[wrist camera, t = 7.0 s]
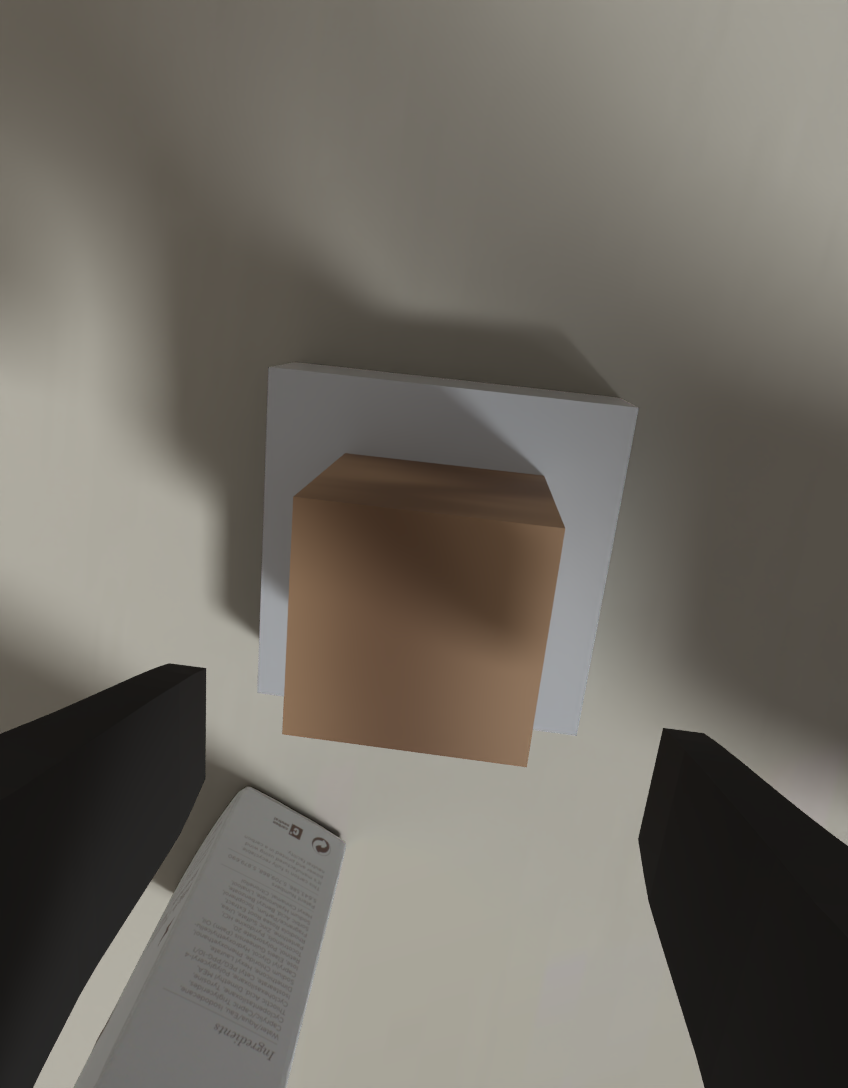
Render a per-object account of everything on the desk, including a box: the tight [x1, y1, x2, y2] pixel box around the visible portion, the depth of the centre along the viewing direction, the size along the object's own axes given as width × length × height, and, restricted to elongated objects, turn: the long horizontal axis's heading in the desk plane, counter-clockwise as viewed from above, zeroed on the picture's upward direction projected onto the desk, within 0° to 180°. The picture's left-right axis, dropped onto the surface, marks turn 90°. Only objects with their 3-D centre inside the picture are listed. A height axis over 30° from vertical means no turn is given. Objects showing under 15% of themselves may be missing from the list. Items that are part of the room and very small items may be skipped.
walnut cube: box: [282, 453, 565, 767], centre depth 16 cm, size 5×5×5 cm
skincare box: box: [73, 787, 346, 1088], centre depth 19 cm, size 6×4×12 cm
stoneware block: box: [258, 362, 639, 736], centre depth 20 cm, size 9×9×3 cm
